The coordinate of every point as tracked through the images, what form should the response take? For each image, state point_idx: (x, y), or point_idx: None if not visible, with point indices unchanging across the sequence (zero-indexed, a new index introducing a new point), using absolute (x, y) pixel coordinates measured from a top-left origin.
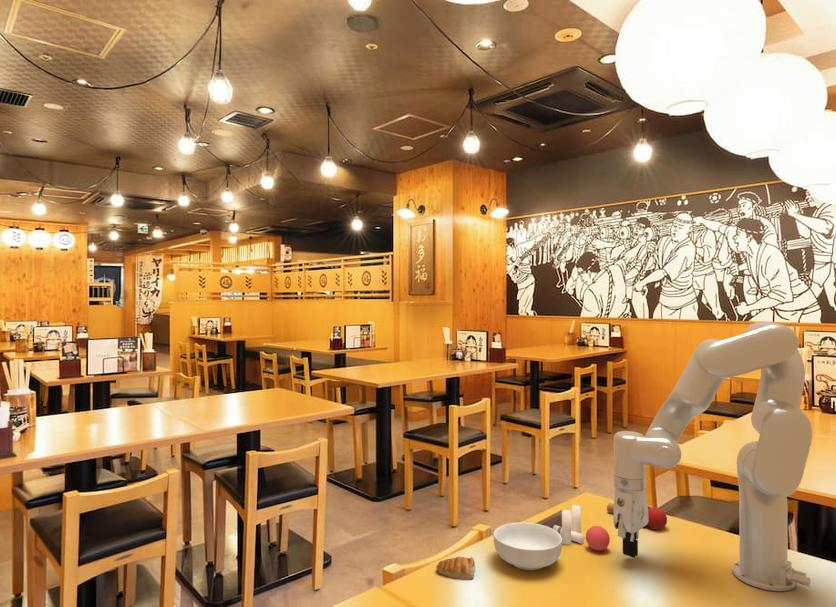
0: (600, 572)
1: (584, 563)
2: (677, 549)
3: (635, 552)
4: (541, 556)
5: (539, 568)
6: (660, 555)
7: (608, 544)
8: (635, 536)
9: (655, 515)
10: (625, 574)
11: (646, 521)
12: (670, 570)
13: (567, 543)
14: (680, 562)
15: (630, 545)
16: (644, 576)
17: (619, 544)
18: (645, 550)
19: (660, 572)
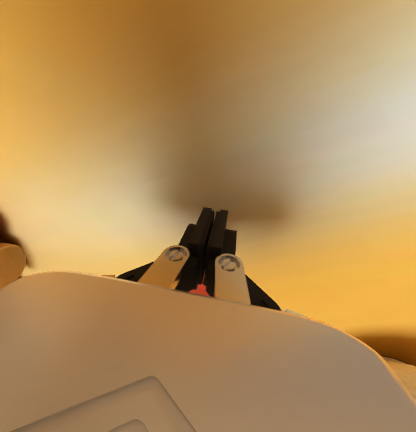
0: (352, 263)
1: (311, 300)
2: (16, 115)
3: (222, 218)
4: None
5: (399, 361)
6: (106, 150)
7: (204, 290)
8: (187, 263)
9: None
10: (330, 202)
11: (44, 299)
12: (190, 65)
13: None
14: (90, 58)
15: (235, 251)
16: (312, 141)
17: (143, 260)
18: (116, 200)
19: (237, 97)
